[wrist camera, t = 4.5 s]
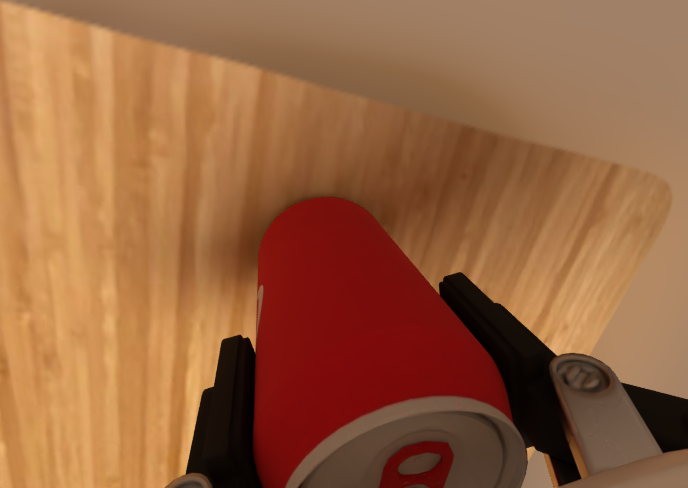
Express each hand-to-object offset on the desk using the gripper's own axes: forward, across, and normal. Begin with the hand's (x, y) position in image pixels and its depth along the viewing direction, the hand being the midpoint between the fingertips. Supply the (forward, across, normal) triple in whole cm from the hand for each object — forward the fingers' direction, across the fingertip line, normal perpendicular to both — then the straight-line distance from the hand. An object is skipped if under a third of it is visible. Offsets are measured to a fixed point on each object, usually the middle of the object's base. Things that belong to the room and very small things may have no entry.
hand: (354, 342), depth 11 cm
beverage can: (+7, 0, 0) cm, 7 cm away
